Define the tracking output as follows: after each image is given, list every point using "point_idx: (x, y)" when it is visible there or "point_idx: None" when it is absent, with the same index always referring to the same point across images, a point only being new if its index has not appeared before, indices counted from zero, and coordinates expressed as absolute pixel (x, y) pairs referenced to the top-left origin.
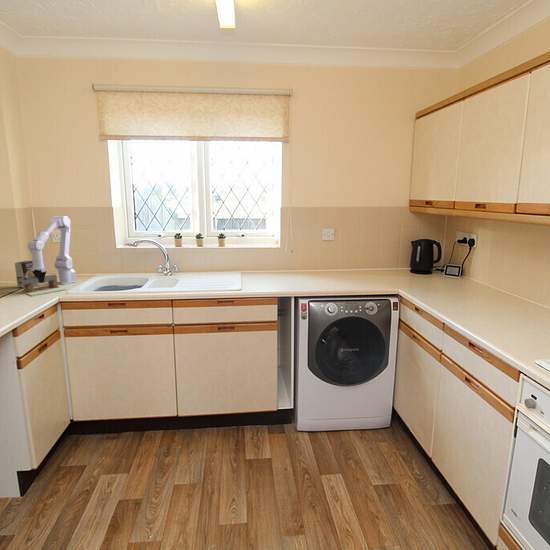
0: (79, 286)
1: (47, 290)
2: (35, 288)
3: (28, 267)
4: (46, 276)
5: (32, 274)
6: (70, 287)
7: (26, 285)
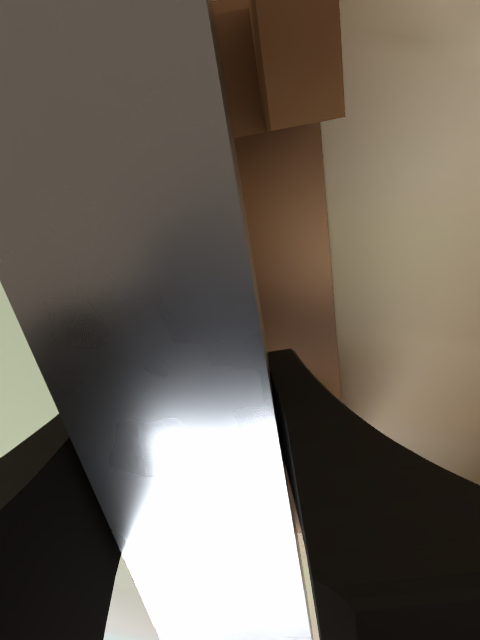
0: (110, 629)
1: (14, 367)
2: (290, 248)
3: None
4: (148, 606)
5: None
6: (116, 574)
7: (257, 60)
